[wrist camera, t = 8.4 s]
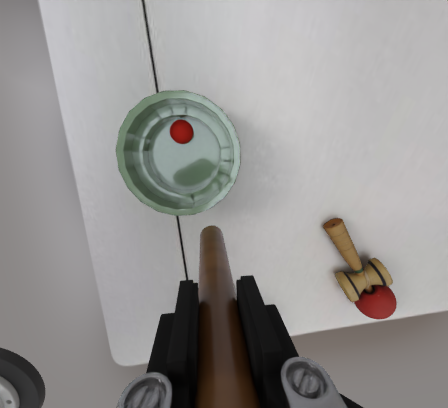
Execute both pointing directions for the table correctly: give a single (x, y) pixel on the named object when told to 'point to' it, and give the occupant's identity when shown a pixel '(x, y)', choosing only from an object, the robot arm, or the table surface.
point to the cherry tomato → (181, 131)
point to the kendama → (362, 276)
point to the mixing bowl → (178, 153)
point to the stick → (220, 333)
